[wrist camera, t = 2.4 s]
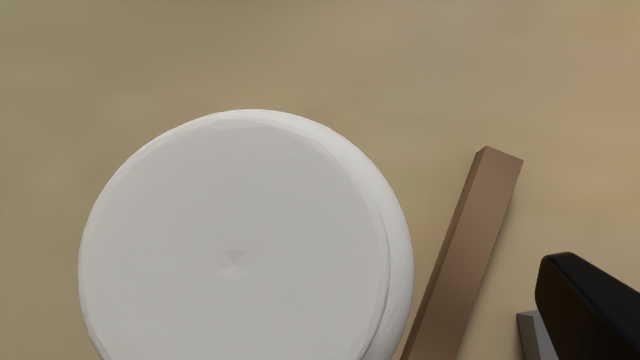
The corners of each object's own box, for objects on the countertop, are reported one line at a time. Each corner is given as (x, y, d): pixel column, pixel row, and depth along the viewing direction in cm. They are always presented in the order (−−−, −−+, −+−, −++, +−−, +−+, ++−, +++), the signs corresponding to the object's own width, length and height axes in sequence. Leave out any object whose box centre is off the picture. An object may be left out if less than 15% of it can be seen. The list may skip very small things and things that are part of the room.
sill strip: (374, 551, 16) (379, 570, 15) (335, 534, 16) (337, 552, 15) (511, 166, 18) (524, 160, 17) (476, 152, 18) (486, 145, 17)
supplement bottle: (263, 408, 16) (202, 622, 6) (143, 265, 17) (-92, 247, 7) (401, 279, 17) (547, 282, 7) (282, 146, 18) (257, -28, 8)
